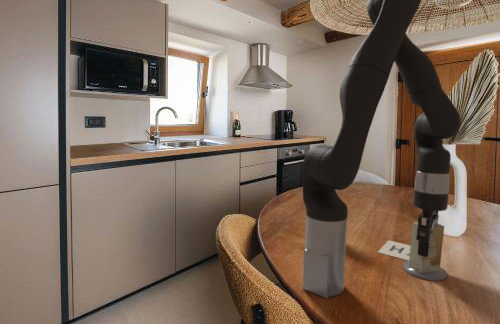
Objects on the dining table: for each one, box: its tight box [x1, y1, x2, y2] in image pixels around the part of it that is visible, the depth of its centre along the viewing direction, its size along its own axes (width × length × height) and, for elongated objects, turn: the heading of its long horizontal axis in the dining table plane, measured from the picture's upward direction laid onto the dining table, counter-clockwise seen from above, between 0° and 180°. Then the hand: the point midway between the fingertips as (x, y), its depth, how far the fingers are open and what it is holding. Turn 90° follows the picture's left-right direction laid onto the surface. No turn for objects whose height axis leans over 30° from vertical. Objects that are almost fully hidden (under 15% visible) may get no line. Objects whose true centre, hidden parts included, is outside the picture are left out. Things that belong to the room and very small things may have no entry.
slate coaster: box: [402, 260, 448, 282], centre depth 78 cm, size 10×10×1 cm
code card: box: [377, 239, 411, 261], centre depth 90 cm, size 12×12×1 cm
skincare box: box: [409, 221, 445, 273], centre depth 77 cm, size 6×4×12 cm
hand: (425, 250), depth 77 cm, fingers open, 8 cm apart
